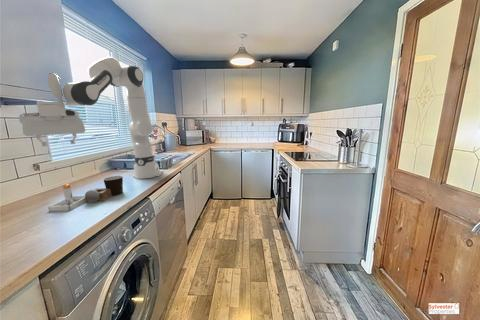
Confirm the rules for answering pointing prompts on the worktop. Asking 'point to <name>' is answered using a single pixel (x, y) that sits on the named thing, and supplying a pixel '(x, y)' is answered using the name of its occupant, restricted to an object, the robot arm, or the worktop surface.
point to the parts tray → (59, 206)
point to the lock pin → (68, 194)
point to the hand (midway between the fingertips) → (59, 145)
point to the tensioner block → (98, 195)
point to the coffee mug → (114, 184)
